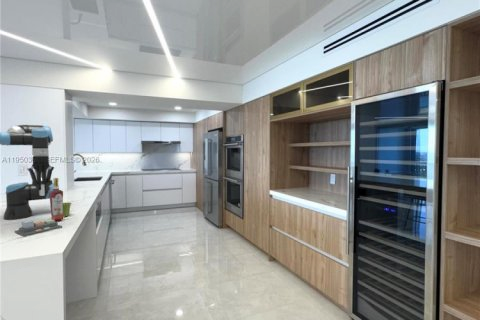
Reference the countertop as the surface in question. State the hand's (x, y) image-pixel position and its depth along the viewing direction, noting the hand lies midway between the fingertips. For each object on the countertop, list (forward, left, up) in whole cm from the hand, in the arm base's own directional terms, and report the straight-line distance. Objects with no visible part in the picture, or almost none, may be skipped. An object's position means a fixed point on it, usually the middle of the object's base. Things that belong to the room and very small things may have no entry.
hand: (42, 195), depth 151 cm
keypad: (+3, -3, -19) cm, 20 cm away
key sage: (+3, +2, -18) cm, 19 cm away
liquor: (-10, +12, -20) cm, 25 cm away
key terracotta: (+3, -3, -18) cm, 19 cm away
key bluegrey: (+3, -9, -16) cm, 19 cm away
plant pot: (-19, +20, -20) cm, 34 cm away
